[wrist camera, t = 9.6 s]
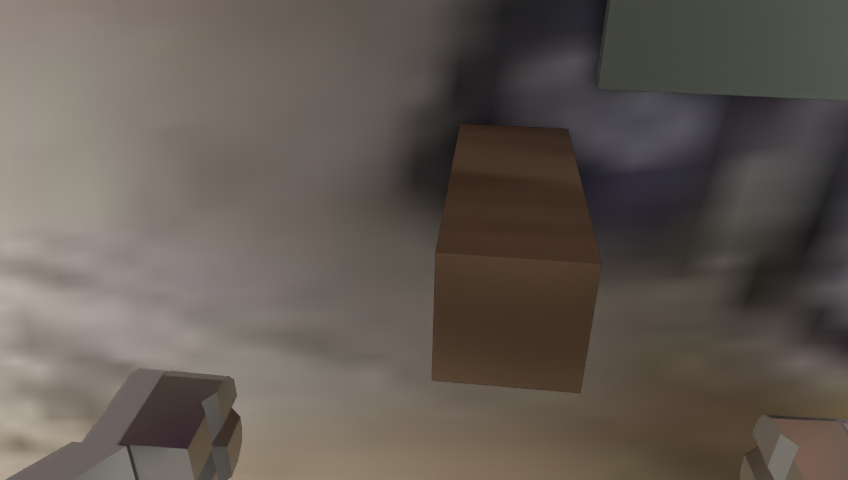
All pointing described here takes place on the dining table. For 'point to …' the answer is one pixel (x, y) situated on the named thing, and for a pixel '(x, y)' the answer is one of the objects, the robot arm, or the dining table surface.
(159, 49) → the dining table surface
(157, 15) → the dining table surface
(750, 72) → the mat
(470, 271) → the walnut block
